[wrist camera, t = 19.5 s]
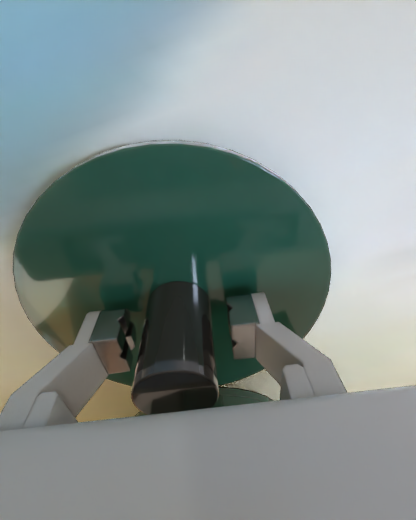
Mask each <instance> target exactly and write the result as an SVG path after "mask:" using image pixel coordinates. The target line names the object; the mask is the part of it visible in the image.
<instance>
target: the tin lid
mask: <svg viewBox="0 0 416 520" xmlns="http://www.w3.org/2000/svg"><path fill="white" fill-rule="evenodd" d="M13 275H14V282H15V288H16V291H17V294H18V297H19V300H20V303H21V305H22V307H23V309H24V311H25V313H26V315H27V317H28V319H29V320H30V322H31V323H32V325H33V326H34V327H35V329H36V330H37V332H38V333H39V334H40V335H41V336H42V337H43V338H44V339H45V340H46V341H47V342H48V344H50V345H51V346H52V347H53V348H54V349H55V350H57V351H58V352H59V353H61V352H62V351H63V350H65V349H66V348H67V347H68V346H69V345H73V344H74V342H75V340H76V337H77V335H78V333H79V330H80V328H81V326H82V323H83V321H84V319H85V316H86V314H87V313H89V312H93V311H102V310H113V309H124V308H127V309H129V312H130V314H131V317H130V321H131V322H133V323H134V325H135V329H136V344H135V347H134V348H133V349H132V350H131V352H132V354H133V360H132V365H131V370H130V371H128V372H121V373H114V374H108V376H107V378H106V379H109V380H112V381H115V382H118V383H122V384H126V385H130V386H132V391H131V399H132V402H133V404H134V405H135V406H136V408H137V409H139V410H140V411H141V412H143V413H145V414H147V415H152V414H161V413H170V412H180V411H188V410H197V409H206V408H212V407H213V406H214V405H215V403H216V402H217V400H218V397H219V385H224V384H227V383H231V382H234V381H237V380H240V379H243V378H245V377H248V376H250V375H253V374H255V373H257V372H259V371H261V370H263V369H265V368H264V367H263V366H262V365H261V364H260V363H259V362H258V361H257V359H256V358H247V359H235V360H234V358H233V352H232V346H231V337H230V334H229V327H228V318H227V306H226V297H230V296H238V295H246V294H253V293H260V292H264V293H265V295H266V298H267V301H268V304H269V307H270V310H271V312H272V315H273V318H274V321H275V322H280V323H281V324H282V325H284V326H285V327H287V328H288V329H289V330H291V331H292V332H293V333H295V334H296V335H298V336H299V337H300V338H302V339H303V338H304V337H305V336H306V335H307V333H308V332H309V331H310V330H311V328H312V327H313V325H314V324H315V322H316V321H317V319H318V317H319V315H320V313H321V311H322V309H323V307H324V304H325V301H326V298H327V295H328V291H329V285H330V278H331V258H330V253H329V248H328V243H327V240H326V237H325V234H324V232H323V229H322V227H321V224H320V223H319V221H318V219H317V218H316V216H315V214H314V213H313V211H312V209H311V208H310V206H309V205H308V204H307V203H306V202H305V201H304V199H303V198H302V197H301V196H300V195H299V194H298V192H297V191H296V190H295V189H294V188H293V187H292V186H291V185H290V184H288V183H287V182H286V181H285V180H284V179H283V178H281V177H280V176H279V175H278V174H277V173H275V172H274V171H272V170H271V169H269V168H267V167H266V166H264V165H262V164H261V163H259V162H258V161H256V160H254V159H252V158H249V157H247V156H245V155H242V154H240V153H237V152H235V151H233V150H230V149H226V148H222V147H218V146H215V145H211V144H207V143H199V142H191V141H183V140H162V141H148V142H141V143H135V144H129V145H125V146H121V147H118V148H115V149H112V150H109V151H105V152H102V153H100V154H98V155H96V156H94V157H92V158H90V159H88V160H86V161H84V162H82V163H80V164H78V165H77V166H75V167H74V168H72V169H71V170H70V171H68V172H67V173H65V174H64V175H63V176H61V177H60V178H58V179H57V180H56V181H55V182H54V183H53V184H52V185H51V186H50V187H49V188H48V189H47V190H46V191H45V192H44V193H43V194H42V195H41V196H40V197H39V198H38V199H37V200H36V202H35V203H34V205H33V206H32V207H31V209H30V210H29V212H28V213H27V215H26V216H25V219H24V221H23V223H22V225H21V228H20V230H19V232H18V235H17V239H16V244H15V248H14V253H13Z"/></svg>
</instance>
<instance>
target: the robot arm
mask: <svg viewBox="0 0 416 520" xmlns="http://www.w3.org/2000/svg"><path fill="white" fill-rule="evenodd" d="M226 306H227V318H228V327H229V334H230V337H231V346H232V352H233V358H234V360H235V359H247V358H256V359H257V361H258V362H259V363H260V364H261V365H262V366H263V367H264V368H265V369H266V370H267V371H268V373H269V374H270V375H271V376H272V377H273V378H274V379H275V380H276V381H277V382H278V383H279V385H280V386H281V391H280V400H278V401H269V402H260V403H251V404H242V405H233V406H224V407H215V408H206V409H197V410H188V411H180V412H170V413H161V414H152V415H143V416H134V417H125V418H116V419H106V420H97V421H88V422H79V423H78V421H77V420H76V416H77V415H78V414H79V412H80V411H81V410H82V409H83V407H84V406H85V405H86V403H87V402H88V401H89V400H90V398H91V397H92V396H93V394H94V393H95V392H96V391H97V389H98V388H99V387H100V385H101V384H102V383H103V382H104V380H105V379H106V378H107V376H108V374H114V373H121V372H128V371H130V370H131V365H132V360H133V354H132V352H131V350H132V349H133V348H134V347H135V344H136V329H135V325H134V323H133V322H131V321H130V317H131V314H130V312H129V309H127V308H124V309H113V310H102V311H93V312H89V313H87V314H86V316H85V319H84V321H83V323H82V326H81V328H80V330H79V333H78V335H77V337H76V340H75V342H74V344H73V345H69V346H68V347H67V348H66V349H65V350H63V351H62V352H61V353H60V354H59V355H57V356H56V357H55V358H54V359H53V360H52V361H50V362H49V363H48V364H47V365H46V366H44V367H43V368H42V369H41V370H40V371H39V372H37V373H36V374H35V375H34V376H33V377H31V378H30V379H29V380H28V381H27V382H26V383H24V384H23V385H22V386H21V387H20V388H19V389H17V390H16V391H15V392H14V393H13V394H11V396H10V398H9V399H8V401H7V403H6V405H5V407H4V408H3V410H2V412H1V414H0V520H416V385H414V386H405V387H395V388H386V389H377V390H368V391H359V392H350V393H347V391H346V389H345V387H344V385H343V383H342V381H341V379H340V377H339V375H338V373H337V371H336V369H335V367H334V365H333V363H332V361H331V359H329V358H328V357H326V356H325V355H324V354H322V353H321V352H320V351H318V350H317V349H315V348H314V347H313V346H311V345H310V344H309V343H307V342H306V341H304V340H303V339H302V338H300V337H299V336H298V335H296V334H295V333H293V332H292V331H291V330H289V329H288V328H287V327H285V326H284V325H282V324H281V323H280V322H275V321H274V318H273V315H272V312H271V310H270V307H269V304H268V301H267V298H266V295H265V293H264V292H260V293H253V294H246V295H238V296H230V297H226Z"/></svg>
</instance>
